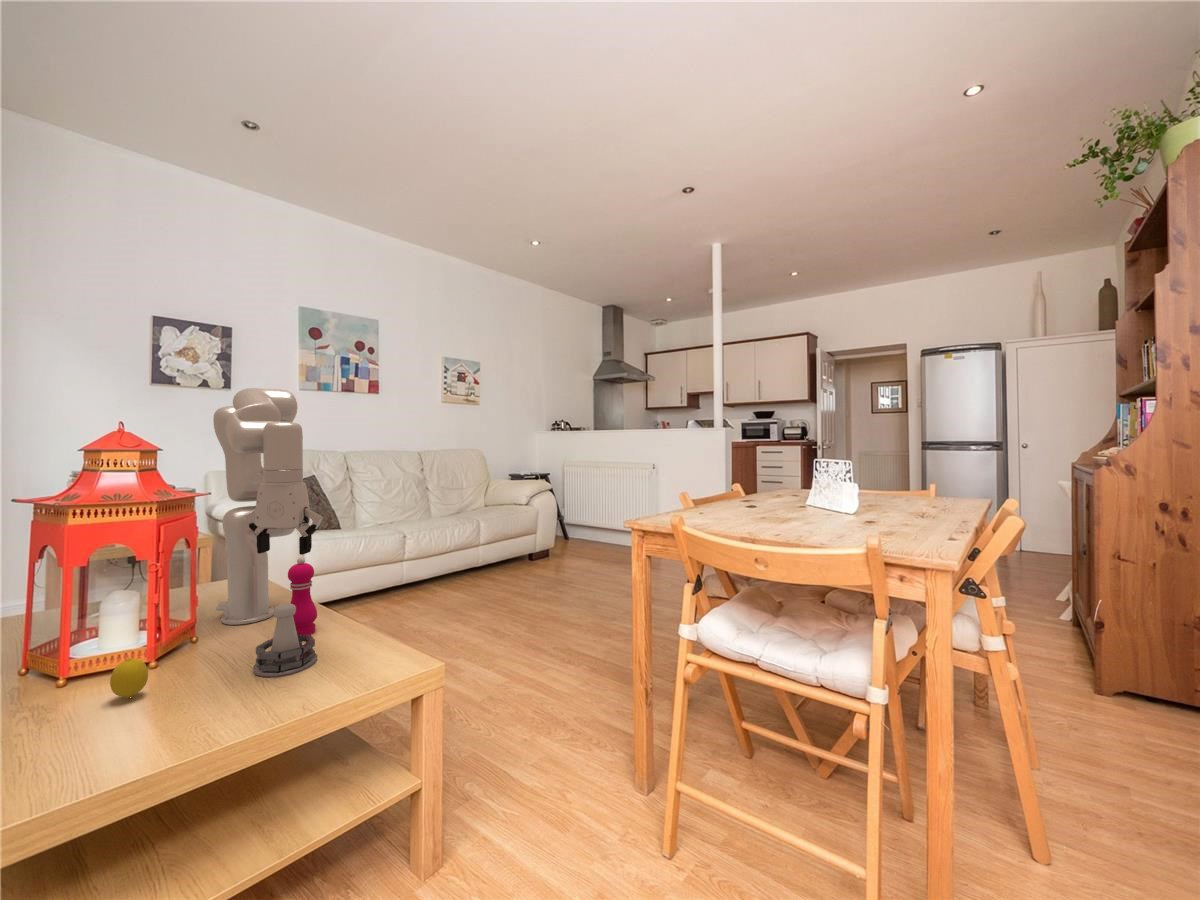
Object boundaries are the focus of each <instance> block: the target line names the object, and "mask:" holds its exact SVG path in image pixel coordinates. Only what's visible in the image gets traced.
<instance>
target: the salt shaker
mask: <svg viewBox="0 0 1200 900" xmlns="http://www.w3.org/2000/svg"><path fill="white" fill-rule="evenodd" d="M273 608H274V612H273V613H274V615H273V617H274V618H275V619H276V621H275V627H274V633H273V637H272V638H273V643H272V646H271V647H270V651H271V652H282V651H287V650H291V649H295V648H299V647H300V645H299V640H298V636H297V631H296V627H295V622H294V618H293V615H294V614H295V612H296V607H295V605H293V604H290V603H283V604H280V605H276V606H275V607H273ZM293 660H295V656H292V657H288V658H285V659H279V660H273V661H274V662H275V663H277V664H281V663H285V662H289V661H293Z"/></svg>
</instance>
